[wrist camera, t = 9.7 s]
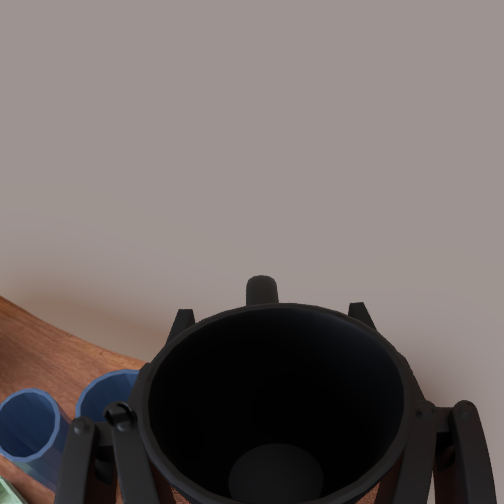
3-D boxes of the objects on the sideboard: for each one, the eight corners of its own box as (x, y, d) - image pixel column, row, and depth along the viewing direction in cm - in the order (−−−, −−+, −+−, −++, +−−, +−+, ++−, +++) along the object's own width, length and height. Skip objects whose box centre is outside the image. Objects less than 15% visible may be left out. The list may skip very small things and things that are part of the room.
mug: (328, 374, 18) (344, 253, 14) (361, 531, 7) (457, 473, 3) (212, 381, 19) (186, 262, 15) (194, 541, 8) (101, 498, 4)
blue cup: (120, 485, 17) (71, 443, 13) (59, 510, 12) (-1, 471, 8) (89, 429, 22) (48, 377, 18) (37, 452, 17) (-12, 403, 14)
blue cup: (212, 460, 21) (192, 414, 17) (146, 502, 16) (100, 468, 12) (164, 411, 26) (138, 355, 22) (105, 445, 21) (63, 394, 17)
